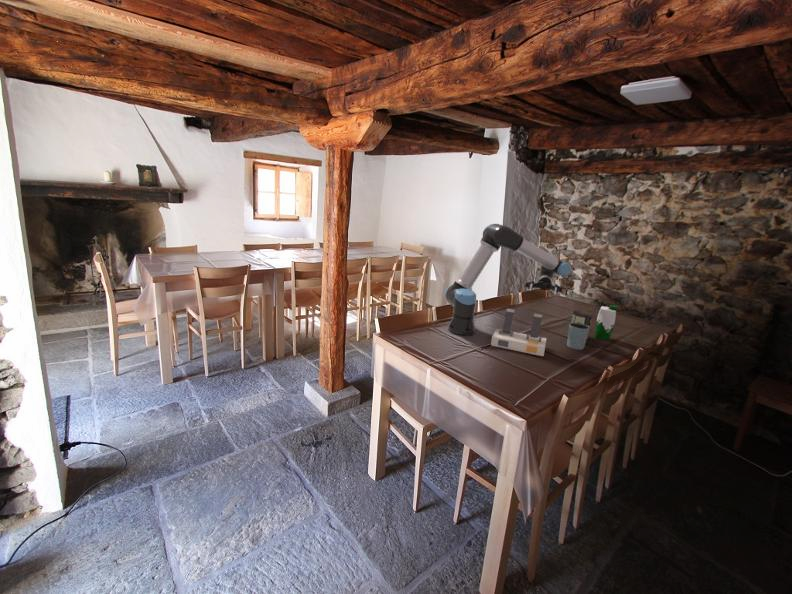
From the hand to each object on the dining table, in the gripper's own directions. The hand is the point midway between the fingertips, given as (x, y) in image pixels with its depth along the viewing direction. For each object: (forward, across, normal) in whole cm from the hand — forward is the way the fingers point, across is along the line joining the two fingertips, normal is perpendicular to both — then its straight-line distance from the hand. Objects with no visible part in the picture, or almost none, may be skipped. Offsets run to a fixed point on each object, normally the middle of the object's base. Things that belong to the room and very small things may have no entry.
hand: (542, 290), depth 206 cm
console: (+16, +7, -28) cm, 33 cm away
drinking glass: (-2, -21, -29) cm, 36 cm away
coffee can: (-22, -23, -29) cm, 43 cm away
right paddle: (+15, 0, -22) cm, 27 cm away
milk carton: (-27, -36, -29) cm, 53 cm away
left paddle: (+16, +14, -22) cm, 30 cm away
